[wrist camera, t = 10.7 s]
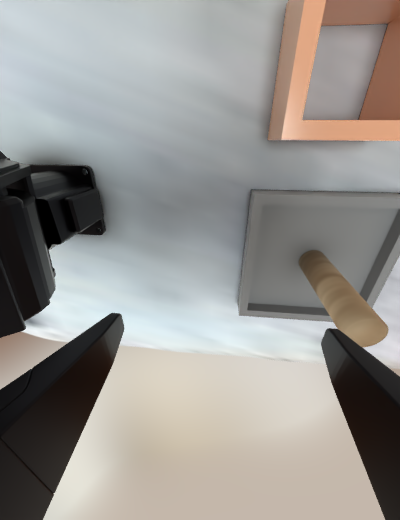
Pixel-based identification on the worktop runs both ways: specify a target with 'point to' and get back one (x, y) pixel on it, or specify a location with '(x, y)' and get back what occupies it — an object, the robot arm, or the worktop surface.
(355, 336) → the dowel pin
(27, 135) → the worktop surface
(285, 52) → the terracotta square hollow block
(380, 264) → the charcoal tray
